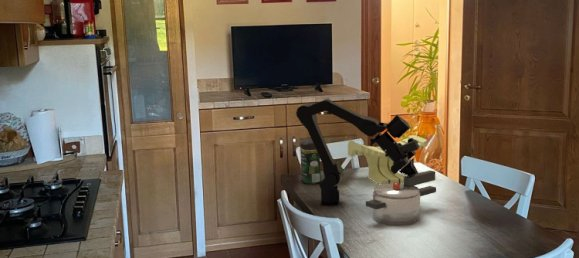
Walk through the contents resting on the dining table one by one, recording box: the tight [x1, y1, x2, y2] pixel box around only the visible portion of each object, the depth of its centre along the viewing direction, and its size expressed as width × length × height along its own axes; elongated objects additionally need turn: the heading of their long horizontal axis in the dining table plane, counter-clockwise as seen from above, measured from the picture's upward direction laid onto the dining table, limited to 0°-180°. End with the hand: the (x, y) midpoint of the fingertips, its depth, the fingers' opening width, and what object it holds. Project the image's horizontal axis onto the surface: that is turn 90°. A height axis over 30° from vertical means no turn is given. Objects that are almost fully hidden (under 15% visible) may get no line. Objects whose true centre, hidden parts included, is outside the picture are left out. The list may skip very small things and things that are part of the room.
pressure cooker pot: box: [365, 185, 437, 227], centre depth 206 cm, size 31×16×9 cm, turn 126°
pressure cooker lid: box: [373, 170, 436, 199], centre depth 206 cm, size 27×15×4 cm, turn 127°
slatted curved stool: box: [347, 134, 428, 185], centre depth 256 cm, size 30×16×18 cm, turn 105°
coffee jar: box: [299, 138, 322, 185], centre depth 255 cm, size 10×8×19 cm
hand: (419, 178), depth 212 cm, fingers closed
